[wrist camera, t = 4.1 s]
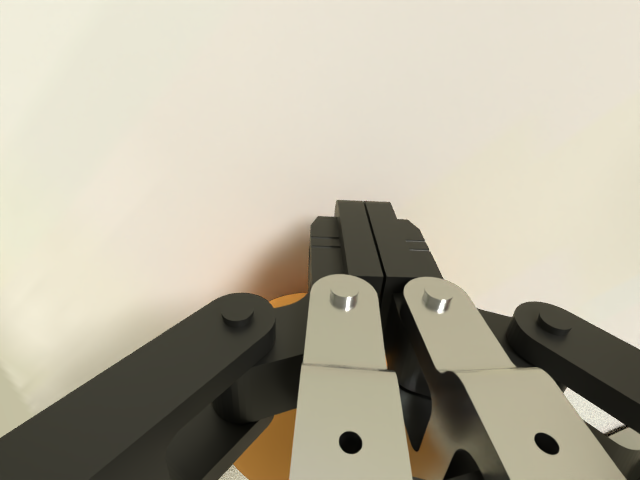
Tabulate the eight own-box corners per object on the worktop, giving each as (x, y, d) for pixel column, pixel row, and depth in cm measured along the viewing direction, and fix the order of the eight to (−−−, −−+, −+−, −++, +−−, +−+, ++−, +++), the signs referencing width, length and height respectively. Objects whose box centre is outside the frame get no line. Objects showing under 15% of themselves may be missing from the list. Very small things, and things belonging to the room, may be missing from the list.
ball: (430, 284, 11) (375, 320, 17) (219, 257, 11) (235, 303, 16) (435, 537, 9) (370, 481, 14) (167, 519, 8) (206, 469, 14)
